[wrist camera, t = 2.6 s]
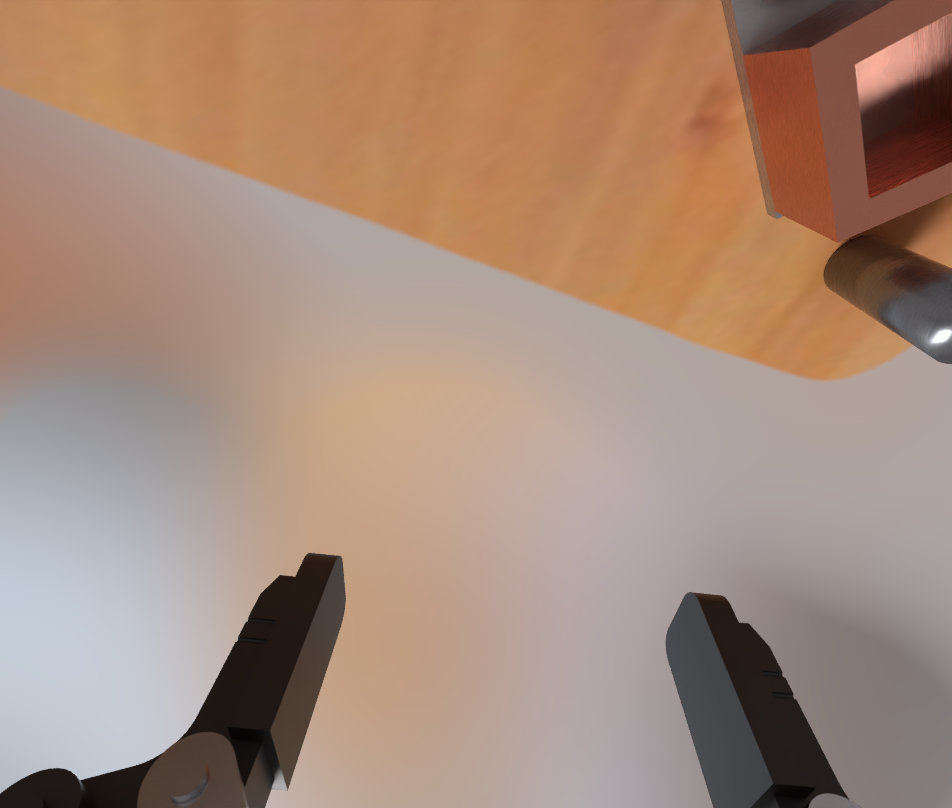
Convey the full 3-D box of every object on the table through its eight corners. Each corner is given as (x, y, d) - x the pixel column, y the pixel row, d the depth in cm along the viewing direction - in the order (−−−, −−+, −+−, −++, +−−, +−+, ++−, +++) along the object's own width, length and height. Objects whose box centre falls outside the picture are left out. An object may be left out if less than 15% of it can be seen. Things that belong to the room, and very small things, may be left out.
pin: (888, 224, 24) (1026, 277, 18) (892, 277, 26) (1021, 344, 19) (819, 253, 25) (925, 314, 19) (827, 302, 27) (928, 375, 20)
